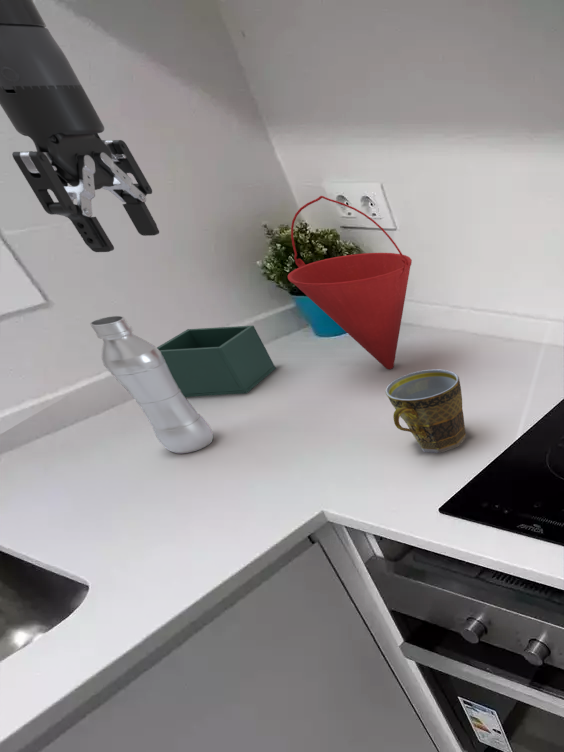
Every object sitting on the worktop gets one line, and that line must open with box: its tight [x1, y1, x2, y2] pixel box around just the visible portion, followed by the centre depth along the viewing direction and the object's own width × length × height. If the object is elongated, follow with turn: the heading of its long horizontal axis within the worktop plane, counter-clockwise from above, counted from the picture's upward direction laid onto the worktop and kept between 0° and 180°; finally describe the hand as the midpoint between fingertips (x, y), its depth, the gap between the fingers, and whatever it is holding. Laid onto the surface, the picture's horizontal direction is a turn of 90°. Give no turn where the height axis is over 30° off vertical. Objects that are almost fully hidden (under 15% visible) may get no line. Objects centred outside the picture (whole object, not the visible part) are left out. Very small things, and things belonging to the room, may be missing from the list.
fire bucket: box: [287, 195, 413, 370], centre depth 98 cm, size 22×20×30 cm
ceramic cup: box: [385, 368, 467, 454], centre depth 81 cm, size 13×10×10 cm
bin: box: [156, 325, 277, 398], centre depth 101 cm, size 12×11×9 cm
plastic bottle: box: [89, 315, 214, 454], centre depth 80 cm, size 6×7×20 cm
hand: (128, 242), depth 70 cm, fingers open, 8 cm apart
